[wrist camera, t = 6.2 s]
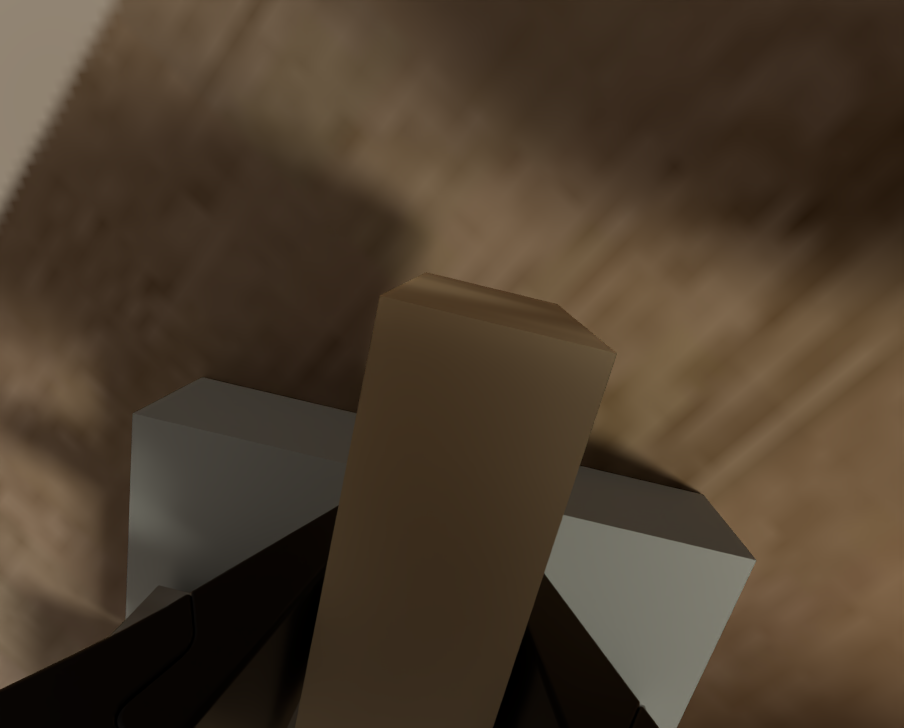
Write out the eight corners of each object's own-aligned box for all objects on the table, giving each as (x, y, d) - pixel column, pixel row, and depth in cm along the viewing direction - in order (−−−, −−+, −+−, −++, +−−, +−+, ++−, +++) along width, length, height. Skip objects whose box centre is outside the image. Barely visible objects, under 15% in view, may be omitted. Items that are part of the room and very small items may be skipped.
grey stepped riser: (703, 494, 12) (756, 560, 10) (596, 750, 15) (617, 852, 12) (202, 377, 12) (132, 413, 10) (181, 650, 15) (121, 732, 12)
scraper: (792, 361, 9) (1045, 458, 5) (626, 746, 11) (706, 1023, 7) (193, 215, 9) (-43, 192, 5) (154, 629, 11) (-26, 839, 7)
